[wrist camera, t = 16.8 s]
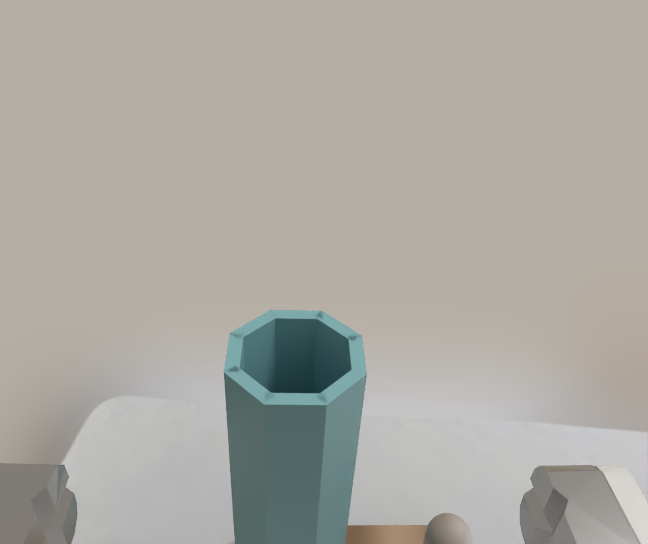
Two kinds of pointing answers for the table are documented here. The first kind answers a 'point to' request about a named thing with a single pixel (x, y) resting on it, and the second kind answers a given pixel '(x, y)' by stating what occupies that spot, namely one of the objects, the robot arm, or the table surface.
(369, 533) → the pin board
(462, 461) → the table surface
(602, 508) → the robot arm
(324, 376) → the sleeve
